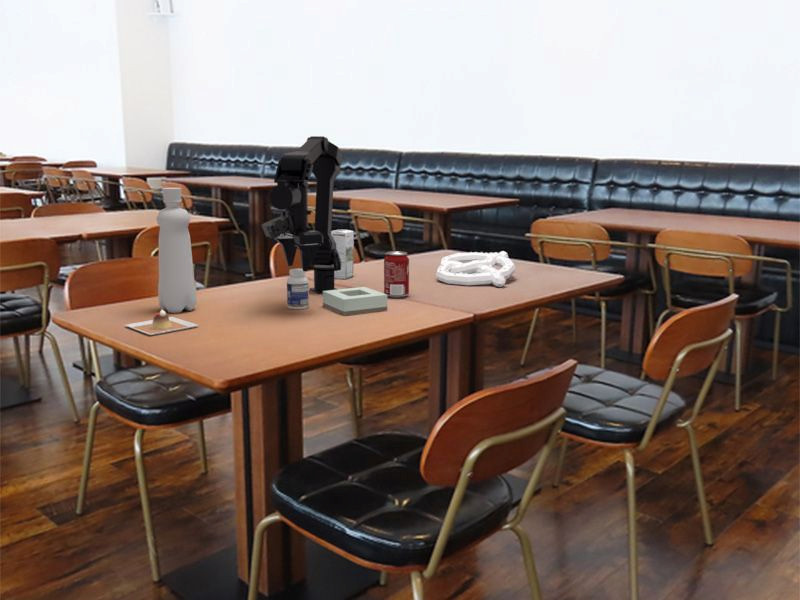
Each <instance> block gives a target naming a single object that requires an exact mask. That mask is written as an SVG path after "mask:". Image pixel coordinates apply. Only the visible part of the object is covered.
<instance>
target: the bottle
mask: <svg viewBox="0 0 800 600" xmlns="http://www.w3.org/2000/svg"><path fill="white" fill-rule="evenodd" d="M182 189H183V188H182V187H162V188H161V191H162V197H163V198H162V199H163V201H162V202H163V203H164V204H165V205H166V207H164V208H163V209H160V210H158V214H157V216H156V218H155V219H156V222H157V225H158V227H159V233H158V284H157V285H158V286H157V292H158V293H157V294H158V295H157V296H158V306H159V307H160V308H161V309H162V310H163V311H165V312H166V311H167V312H168V313H170V314H179V313H182V311H183V310H185V311H189V312H190V311H193V310H194V309H195V307H196V305H197V303H198V301H197V285H196V281H195V275H194V274H195V273H194V264H193V254H192V252H193V251H192V244H191V235H190V234H191V233H190V231H189V228H188V227H189V225H190V221H191V216H190V213H188V210H186V209H184V208H182V207H180V204H181V202H183V201H182V191H183V190H182Z"/></svg>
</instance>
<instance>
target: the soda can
mask: <svg viewBox="0 0 800 600" xmlns="http://www.w3.org/2000/svg"><path fill="white" fill-rule="evenodd" d="M383 293H384V294H387V298H391V299H403V298H405V297H406V296H409V294H410V258H409V257H408V252H406V251H401V250H400V251H399V250H397V251H396V250H395V251H393V250H392V251H387V252H386V253H385V257H384V258H383Z"/></svg>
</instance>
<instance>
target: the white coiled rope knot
mask: <svg viewBox="0 0 800 600" xmlns="http://www.w3.org/2000/svg"><path fill="white" fill-rule="evenodd" d="M495 266H497V267H500V268H499V269H497V268H495ZM516 268H517V267H516V265H515V263H514V262H513V261H512V260H511V259H510V258H509V255H508V252H506V251H504V250H502V251H499V252H497V251H495V252H491V251H490V252H483V251H480V252H478V251H474V252H472V251H470V252H466V251H465V252H457V253H451V254H449V255H446V256H443V257H442V258H441V261H440V264H439V266H438V267H437V270H436V273H435V278H436V280H437V281H438V280H439V281H441V282H442V283H445V284H449V285H458V286H459V285H460V286H467V287H468V286H477V285H478V286H479V285H480V286H481V285H482V286H483V285H490V284H493V285H494V286H495V287H498V288H502V287H504V286H505V285H506V282H507V281H506V280H508V279H509V278H510V277H511V276H512V275H513V274H514V273H515V271H516Z"/></svg>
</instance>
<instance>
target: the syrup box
mask: <svg viewBox="0 0 800 600" xmlns="http://www.w3.org/2000/svg"><path fill="white" fill-rule="evenodd" d="M331 235H332V237H333V239H334V240H335V242H336V249H337V251H338V254H339V256H340V259H341V270H337V271H334V280H335V279H336V280H347V279H350V278H352V277H354V256H355V255H354V253H355V251H354V247H355V245H354V244H355V241H354V230H350V229H336V230H331ZM332 266H334V265H332Z"/></svg>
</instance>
